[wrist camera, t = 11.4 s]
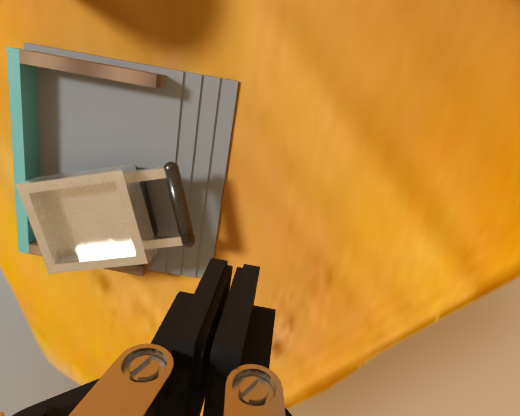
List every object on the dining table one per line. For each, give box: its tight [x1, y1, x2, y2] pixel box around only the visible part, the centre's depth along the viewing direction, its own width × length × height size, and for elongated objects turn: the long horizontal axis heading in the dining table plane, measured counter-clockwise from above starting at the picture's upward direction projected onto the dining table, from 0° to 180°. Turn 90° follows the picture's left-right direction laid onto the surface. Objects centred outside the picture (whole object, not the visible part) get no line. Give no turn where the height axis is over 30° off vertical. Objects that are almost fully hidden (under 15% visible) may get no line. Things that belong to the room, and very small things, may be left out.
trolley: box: [16, 161, 195, 274], centre depth 32 cm, size 13×8×5 cm, turn 99°
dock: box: [6, 43, 239, 278], centre depth 33 cm, size 18×19×3 cm
